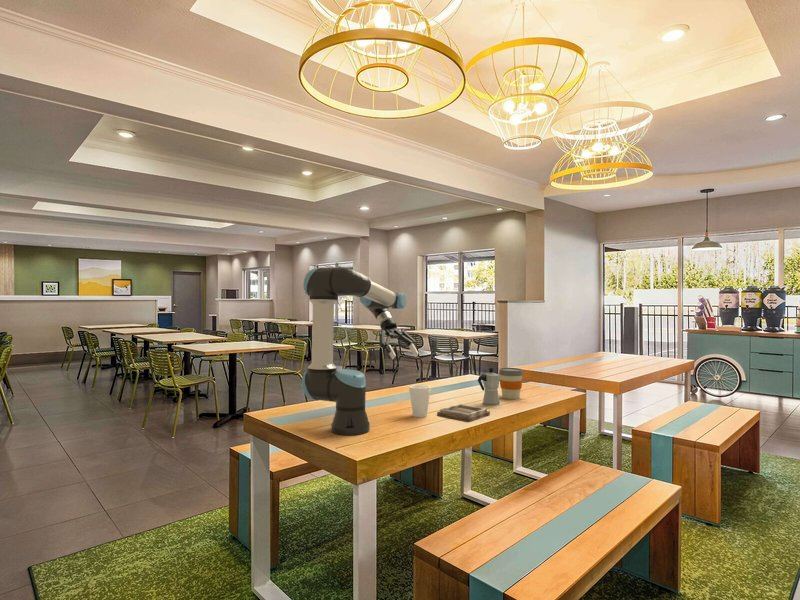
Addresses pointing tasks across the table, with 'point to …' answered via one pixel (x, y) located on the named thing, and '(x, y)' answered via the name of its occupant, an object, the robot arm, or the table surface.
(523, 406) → the table surface
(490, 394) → the coffee maker
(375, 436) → the table surface
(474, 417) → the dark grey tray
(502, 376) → the reusable coffee cup
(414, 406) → the foam cup
